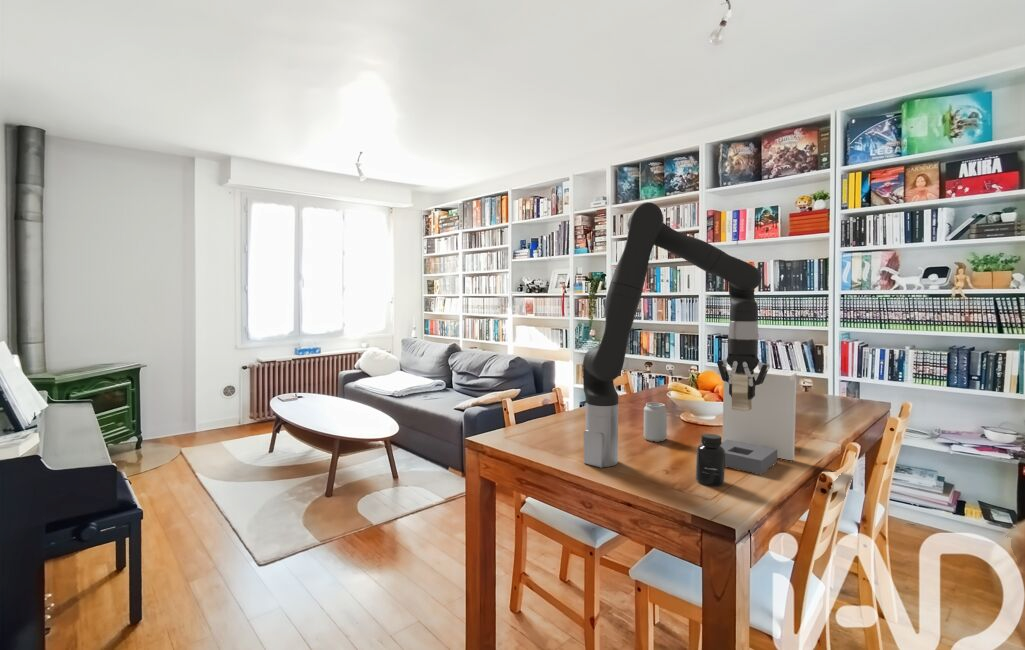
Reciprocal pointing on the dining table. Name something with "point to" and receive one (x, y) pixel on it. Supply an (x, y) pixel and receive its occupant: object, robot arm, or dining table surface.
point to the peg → (740, 392)
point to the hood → (764, 414)
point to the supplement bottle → (710, 461)
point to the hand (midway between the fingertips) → (741, 397)
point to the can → (655, 422)
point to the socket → (748, 456)
